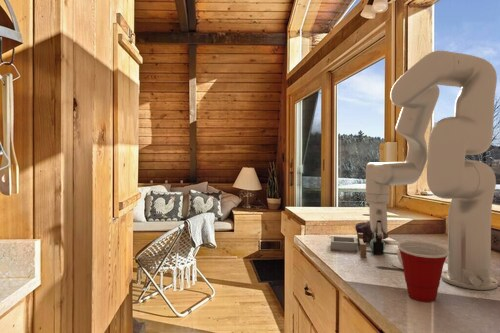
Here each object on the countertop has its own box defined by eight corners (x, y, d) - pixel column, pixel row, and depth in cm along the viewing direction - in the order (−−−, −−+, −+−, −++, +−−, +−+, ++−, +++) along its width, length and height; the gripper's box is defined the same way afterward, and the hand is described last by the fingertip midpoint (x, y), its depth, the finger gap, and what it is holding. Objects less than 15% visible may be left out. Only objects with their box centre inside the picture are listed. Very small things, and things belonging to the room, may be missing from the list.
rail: (366, 257, 115) (366, 244, 115) (360, 257, 116) (360, 244, 115) (362, 245, 132) (362, 233, 132) (357, 244, 133) (357, 233, 132)
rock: (358, 241, 144) (357, 246, 134) (354, 220, 144) (353, 223, 135) (388, 238, 140) (390, 243, 131) (385, 216, 141) (386, 220, 131)
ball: (386, 254, 119) (386, 239, 118) (370, 253, 120) (370, 239, 120) (384, 250, 123) (384, 236, 123) (369, 250, 125) (369, 235, 124)
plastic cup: (412, 308, 77) (413, 253, 76) (388, 289, 87) (389, 241, 87) (460, 306, 77) (460, 251, 77) (431, 288, 88) (431, 240, 88)
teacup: (433, 272, 100) (433, 256, 100) (396, 271, 102) (396, 255, 102) (422, 262, 110) (422, 247, 110) (388, 261, 112) (388, 246, 112)
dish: (357, 251, 123) (357, 243, 123) (330, 250, 125) (330, 241, 125) (356, 245, 131) (356, 237, 131) (331, 244, 134) (331, 236, 134)
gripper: (392, 201, 112) (392, 259, 112) (385, 196, 129) (385, 246, 129) (367, 201, 114) (368, 257, 114) (364, 195, 130) (364, 245, 131)
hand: (377, 251), depth 122 cm, fingers closed on ball, 4 cm apart
